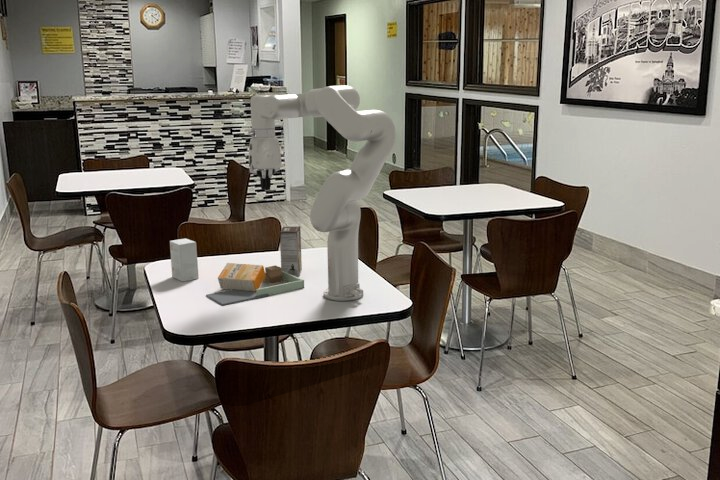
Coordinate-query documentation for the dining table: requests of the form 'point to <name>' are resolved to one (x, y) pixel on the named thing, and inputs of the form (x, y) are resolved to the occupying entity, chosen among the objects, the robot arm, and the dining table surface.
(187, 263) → the small box
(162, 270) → the dining table surface
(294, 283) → the tray
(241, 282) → the supplement box
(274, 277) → the walnut block
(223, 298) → the mat
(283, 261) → the coffee box
